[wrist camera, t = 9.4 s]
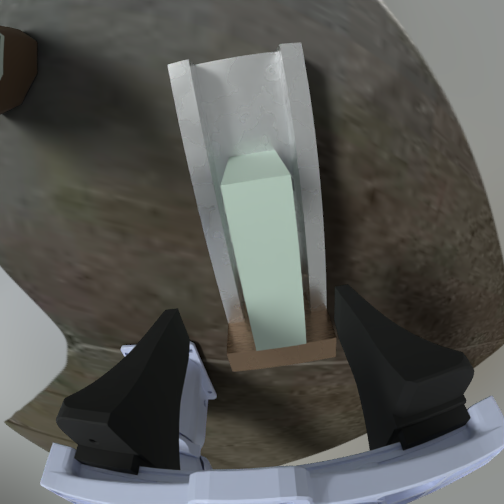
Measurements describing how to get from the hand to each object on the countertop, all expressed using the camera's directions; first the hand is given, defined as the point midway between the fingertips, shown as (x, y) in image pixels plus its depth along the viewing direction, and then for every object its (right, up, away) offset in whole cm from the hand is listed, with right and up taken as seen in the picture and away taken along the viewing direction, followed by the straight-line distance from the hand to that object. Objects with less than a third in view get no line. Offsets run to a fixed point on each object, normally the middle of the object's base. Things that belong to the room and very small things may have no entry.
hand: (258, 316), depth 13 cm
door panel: (+1, +5, +8) cm, 9 cm away
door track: (0, +6, +7) cm, 10 cm away
